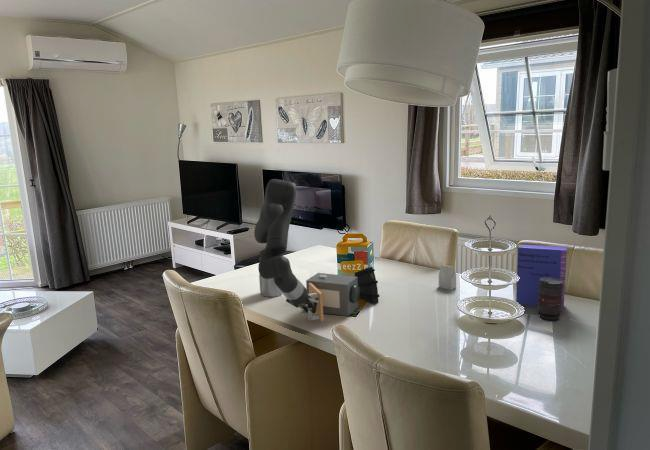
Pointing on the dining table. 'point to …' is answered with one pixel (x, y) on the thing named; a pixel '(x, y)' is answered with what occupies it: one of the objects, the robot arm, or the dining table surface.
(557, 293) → the camera lens
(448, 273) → the light grey rectangular block
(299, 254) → the dining table surface
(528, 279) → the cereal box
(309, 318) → the side door
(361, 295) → the black ridged panel
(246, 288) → the dining table surface
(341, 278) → the grey hinged door box
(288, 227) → the robot arm
